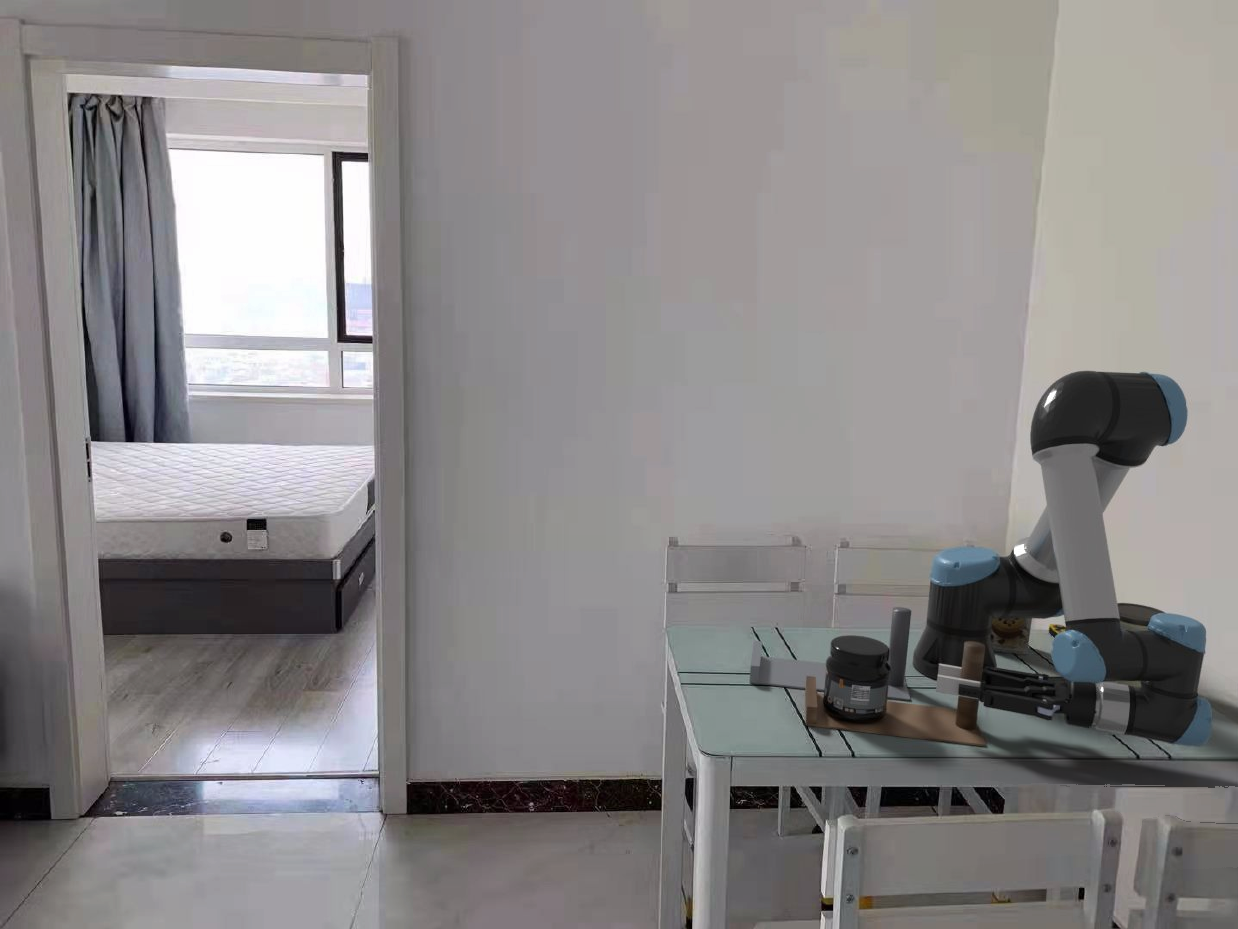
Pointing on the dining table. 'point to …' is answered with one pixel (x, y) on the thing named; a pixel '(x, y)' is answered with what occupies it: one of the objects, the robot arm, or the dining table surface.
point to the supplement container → (857, 679)
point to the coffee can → (1135, 623)
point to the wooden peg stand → (915, 711)
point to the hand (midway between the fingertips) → (937, 677)
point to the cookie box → (1011, 634)
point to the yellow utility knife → (1056, 629)
